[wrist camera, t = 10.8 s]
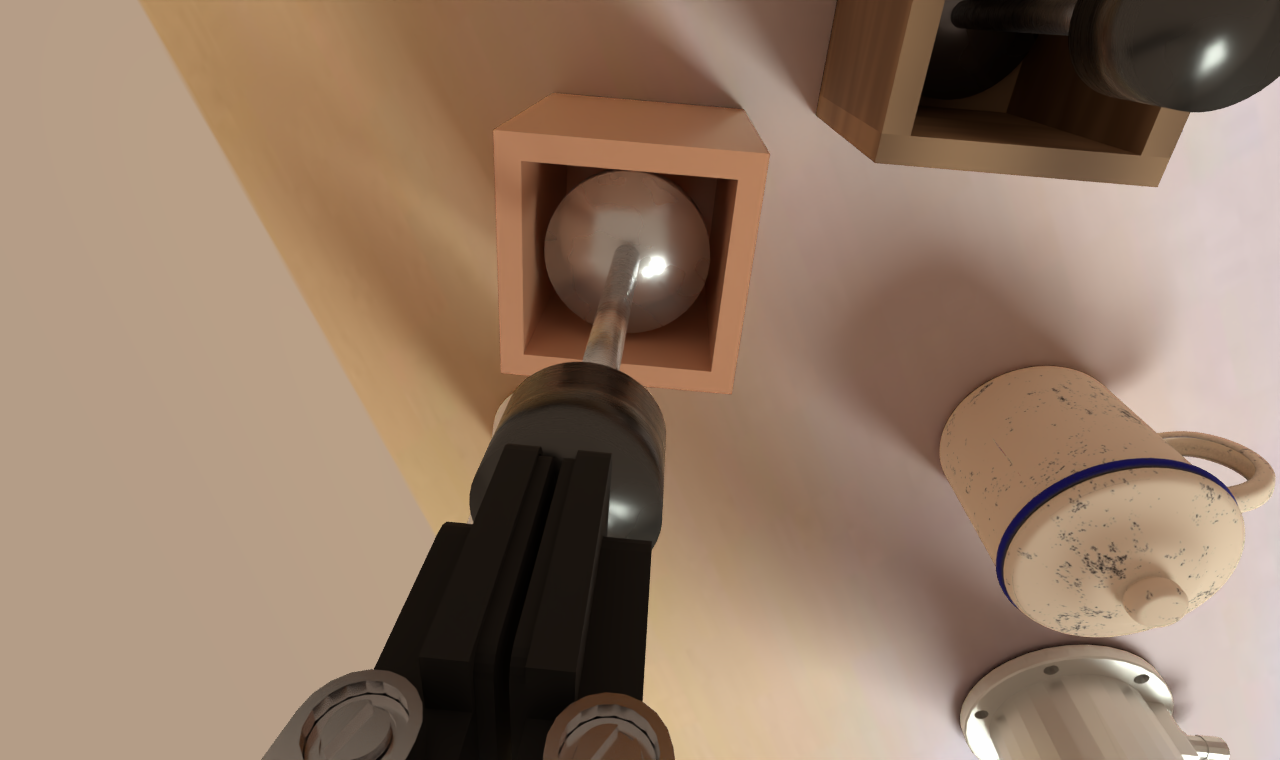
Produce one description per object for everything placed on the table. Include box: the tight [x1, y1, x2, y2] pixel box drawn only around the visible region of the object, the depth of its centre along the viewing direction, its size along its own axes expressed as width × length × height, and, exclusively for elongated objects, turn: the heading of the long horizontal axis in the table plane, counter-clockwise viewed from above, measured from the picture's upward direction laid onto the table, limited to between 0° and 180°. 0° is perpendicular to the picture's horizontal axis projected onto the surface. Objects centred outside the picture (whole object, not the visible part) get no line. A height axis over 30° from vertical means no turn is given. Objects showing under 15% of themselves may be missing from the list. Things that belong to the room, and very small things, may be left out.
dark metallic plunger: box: [921, 0, 1280, 112], centre depth 18 cm, size 6×6×14 cm
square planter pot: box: [493, 93, 770, 394], centre depth 26 cm, size 8×10×10 cm
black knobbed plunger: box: [470, 169, 710, 549], centre depth 17 cm, size 6×6×14 cm
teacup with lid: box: [939, 366, 1275, 637], centre depth 29 cm, size 12×9×12 cm
